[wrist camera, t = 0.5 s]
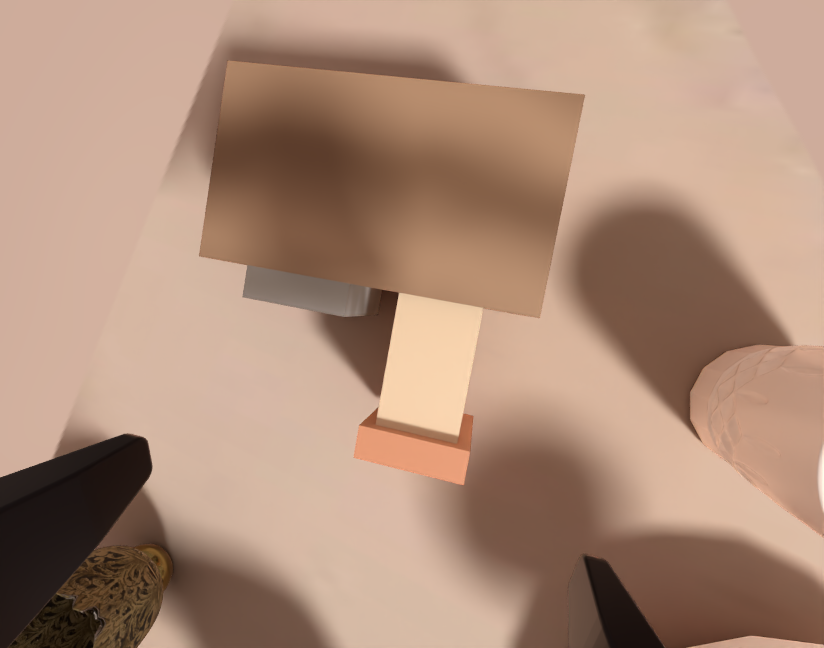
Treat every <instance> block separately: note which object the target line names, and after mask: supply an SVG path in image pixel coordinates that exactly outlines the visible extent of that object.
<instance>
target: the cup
mask: <svg viewBox="0 0 824 648" xmlns="http://www.w3.org/2000/svg"><path fill="white" fill-rule="evenodd" d="M172 573H173V565H172V561H171V558H170V556H169V555H168V553H167V552H166V551H165V550H164V549H163V548H162V547H160V546H158V545H155V544H142V545H138V546H135V547H133V548H132V547H129V546H109V547H103V548H100V549H97V550H94V551H93V552H92V553H91V554H90V555H89V557H88V558H87V559H86V560H85V561H84V562H83V563H82V564H81V566H80V567H79V568H78V569H77V570H76V571H75V572H74V574H73V575H72V576H71V577H70V578H69V579H68V580H67V581H66V583H65V584H64V585H63V586H62V587H61V588H60V589H59V591H58V592H57V593H56V594H55V595H54V596H53V597H52V598H51V600H50V601H49V602H48V603H47V604H46V605H45V606H44V608H43V609H42V610H41V611H40V612H39V613H38V614H37V615H36V617H35V618H34V619H33V620H32V621H31V622H30V623H29V625H28V626H27V627H26V628H25V629H24V630H23V631H22V632H21V634H20V635H19V636H18V637H17V638H16V639H15V640H14V642H13V643H12V644H11V645H10V646H9V647H8V648H137V647H138V646H139V644H140V643H141V642H142V640H143V639H144V638H145V636H146V635H147V633H148V632H149V630H150V629H151V627H152V626H153V624H154V622H155V620H156V618H157V616H158V614H159V611H160V608H161V604H162V599H163V591H164V590H165V589H166V588H167V586H168V584H169V582H170V580H171V577H172Z"/></svg>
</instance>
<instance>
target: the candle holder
mask: <svg viewBox="0 0 824 648" xmlns="http://www.w3.org/2000/svg"><path fill="white" fill-rule="evenodd" d="M688 648H824V645H822V644H815V643H807V642H799V641H791V640H783V639H775V638H767V637H759V636H746V637H741V638H736V639H730V640H725V641H720V642H714V643H709V644H704V645H698V646H693V647H688Z"/></svg>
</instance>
